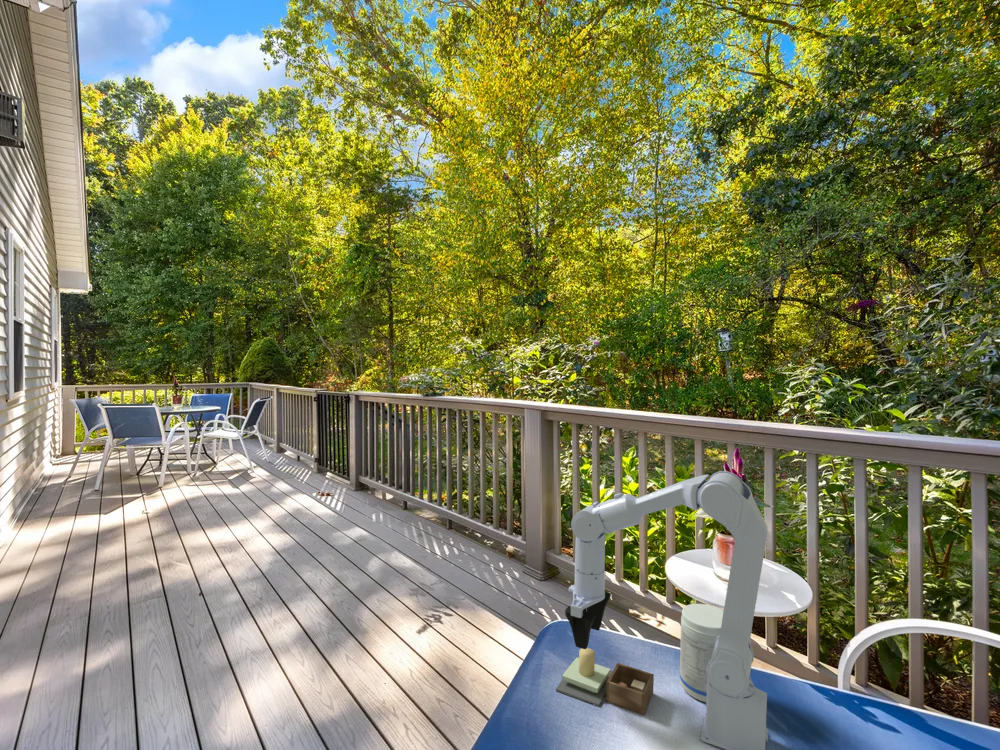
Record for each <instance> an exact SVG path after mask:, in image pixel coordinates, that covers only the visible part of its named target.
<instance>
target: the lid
mask: <svg viewBox="0 0 1000 750" xmlns="http://www.w3.org/2000/svg"><path fill="white" fill-rule="evenodd" d="M578 654H579V655H578V657H575V659H574V660H573V661H572V662H571V663H570V665H569V666H568V667H567V669H566V670H565V671H564V672H563V674H562V675H561V681H562V680H565V681H567V682H568V683H570V684H573V685H575V686H578V687H580V688H583V689H586V690H588V691H591V692H593V693H595V692H596V693H598V691H599V690H600V688H601V687H602V685H603V684H604V682H605V681H606V679H607V677H608V676H609V674H610V671H611V668H608V667H606V666H603V665H600V664H597V663H595V661H596V659H595V658H596V653H595V650H594V649H591V648H590V647H587V648H586V649H582V648H579V652H578Z"/></svg>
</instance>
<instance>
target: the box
mask: <svg viewBox="0 0 1000 750" xmlns="http://www.w3.org/2000/svg"><path fill="white" fill-rule="evenodd" d="M612 671H613V672H612V673H611V675H610V677H609V679H608V680H607V684H606V694H605V703H608V704H610V705H614V706H616V707H619V708H621V709H625V710H627V711H630V712H633V713H635V714H638V715H641V716H643V717H644V716H645V714H646V712H647V710H648V707H649V705H650V703H651V700H652V698H653V695H654V682H655V681H654V679H655V678H654V677H655V675H654V674H655V673H650V672H647V671H644V670H642V669H638V668H636V667H632V666H629V665H626V664H623V663H619V662H617V663H616V665H615V666H614V668H613V670H612Z"/></svg>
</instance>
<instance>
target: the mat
mask: <svg viewBox="0 0 1000 750" xmlns="http://www.w3.org/2000/svg"><path fill="white" fill-rule="evenodd" d="M612 672H613V670H610V674H609V676H608V677H607V679H606V681H605V682H604V684H603V685H602V687H601V688H600V690H599V691H598V693H596V692H595V693H593V692H591V691H588V690H586V689H583V688H580V687H578V686H575V685H573V684H570V683H568V682H567V681H565V680H562V679H561V681H560V682H559V684H558V685H557V686H556V688H555V692H557V693H561V694H564V695H566V696H569V697H571V698H574V699H576V698H577V700H579V699H580V700H579V701H582V700H583V701H582V702H585V701H587V702H590V703H593V704H595V705H594V706H596V705H597V706H596V707H598V706H599V707H600V705H601V704H602V702H603V701H604V698H605V697H606V684H607V680H608V679H609V677H610V675H611V673H612ZM587 702H586V703H587ZM590 703H589V704H590ZM593 704H592V705H593Z"/></svg>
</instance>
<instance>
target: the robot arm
mask: <svg viewBox="0 0 1000 750" xmlns="http://www.w3.org/2000/svg"><path fill="white" fill-rule="evenodd" d="M709 475H710V474H703V475H699V476H695V477H692V478H688V479H684V480H682V481H679V482H677V483H673V484H671V485H668V486H666V487H663V488H661V489H657V490H655V491H653V492H649V493H647V494H645V495H642V496H639V497H637V496H635V495H633V494H630V493H626V494H623V493H622V492H619V493H616V494H614V495H613V498H611V499H609V500H608V499H607V500H606V501H603V502H599V501H595V502H593V503H592V504H591V505H588V506H586V507H584V508H583V509H581V510H580V511H578V512H577V513H576V514H574V515H573V517H572V519H571V523H570V524H571V525H570V526H571V531H572V533H573V535H574V536H575V545H574V546H575V547H574V549H575V550H574V584H571V585H570V586H569V587H568V592H569V593H572V603H571V604H570V605H568V606H567V607H566V608H565V610H564V611H565V612H564V614H565V617H566V619H567V621H568V622H569V624H570V627H571V632H572V636H573V640H574V645H575V647H576V648H579V649H586V648H588V646H589V642H590V641H589V640H590V636H591V629H592V630H593V631H600V629H601V626H602V623H603V618H604V613H605V610H606V607H607V605H608V602H609V601H610V599H611V596H612V594H611V592H609V591H606V578H605V568H606V567H605V561H606V560H605V558H606V543H605V542H606V540H605V539H606V534H612V533H614V532H618V531H622V530H623V529H627V528H630V527H635V526H637V525H640V524H641V522H642V520H643V518H644V516H646V515H648V514H652V513H656V512H659V511H660V512H661V511H662V510H666V509H667V510H668V509H670V508H671V509H672V508H674V507H677V506H678V507H679V506H682V505H683V506H685V507H688V508H690V509H691V510H693V511H696V512H697V511H698V510H699V509H700V508H701V510H702V511H703V512H704V514H706V515H708V516H709V517H710V518H712V519H713V520H714V521H716V522H717V523H719V524H721V525H723V526H724V527H725V528H726V530H727V531H728V532H729V533H730V534H731V535H732V536H733V537H734V545H733V550H732V558H731V563H730V570H729V576H728V582H727V587H726V589H727V590H726V594H725V600H724V607H723V610H724V612H723V618H722V624H721V630H720V635H719V636H718V637H717V639H716V641H715V645H714V650H713V653H712V656H711V659H710V661H709V662H708V665H707V702H705V703H706V704H705V705H706V708H705V709H706V711H705V714H704V719H703V724H702V727H701V728H702V729H701V733H700V740H701V742H704V743H707V744H710V745H711V746H715V747H718V748H721V749H723V750H766V742H767V743H769V728H767V711H768V710H767V708H768V707H767V705H768V704H767V703H768V693H767V692H765V691H763V690H761V689H760V688H758V687H755V684H754V682H753V680H752V678H751V675H750V674H751V669H752V664H753V662H754V659H755V656H754V655H755V653H754V650H753V647H752V644H751V637H752V630H753V629H752V628H753V623H754V617H755V612H756V605H757V600H758V599H757V598H758V593H759V586H760V581H761V575H762V568H763V563H764V557H765V549H766V546H767V539H768V538H767V537H768V535H769V534H768V533H769V532H768V525H767V524H766V521H765V520H764V518H763V516H762V515H763V514H762V513H761V512H760V511H761V510H760V508H759V507H758V505H757V502H756V500H755V498H754V495H753V493H752V490H751V488H750V487H749V486H748V485H747V484H746V483H745V482H744V481H743V479H742V478H740V477H739V476H738V475H737V474H736V473H733V472H731V471H727V470H720V471H717V472H715V473H713V474H711V475H710V476H709ZM708 476H709V478H708V479H707V477H708Z"/></svg>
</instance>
